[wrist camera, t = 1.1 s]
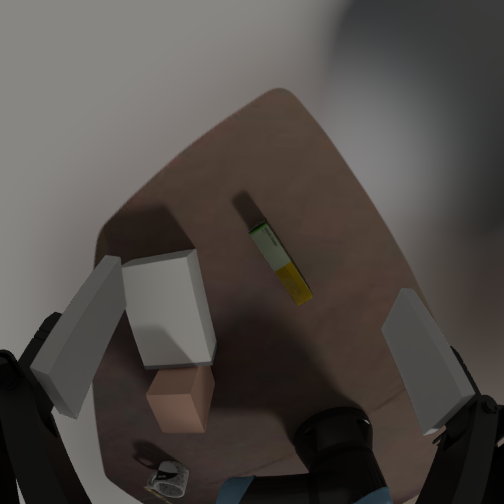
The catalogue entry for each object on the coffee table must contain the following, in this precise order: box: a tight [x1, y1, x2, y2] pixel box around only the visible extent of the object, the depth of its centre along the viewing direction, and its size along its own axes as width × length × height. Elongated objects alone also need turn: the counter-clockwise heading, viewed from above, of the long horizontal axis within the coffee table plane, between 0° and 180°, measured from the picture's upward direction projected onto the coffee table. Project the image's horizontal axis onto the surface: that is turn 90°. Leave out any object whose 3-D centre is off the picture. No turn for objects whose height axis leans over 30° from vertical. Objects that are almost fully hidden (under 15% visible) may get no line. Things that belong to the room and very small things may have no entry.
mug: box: [147, 460, 189, 497], centre depth 46 cm, size 10×7×7 cm, turn 116°
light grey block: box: [121, 249, 218, 369], centre depth 39 cm, size 15×10×6 cm
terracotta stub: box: [146, 365, 215, 433], centre depth 38 cm, size 7×6×12 cm
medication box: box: [248, 218, 313, 306], centre depth 39 cm, size 12×3×4 cm, turn 34°
